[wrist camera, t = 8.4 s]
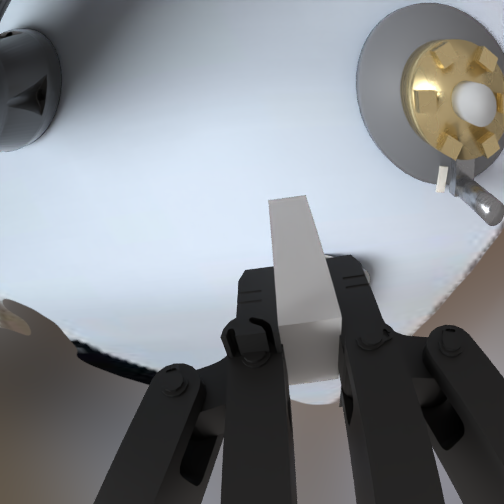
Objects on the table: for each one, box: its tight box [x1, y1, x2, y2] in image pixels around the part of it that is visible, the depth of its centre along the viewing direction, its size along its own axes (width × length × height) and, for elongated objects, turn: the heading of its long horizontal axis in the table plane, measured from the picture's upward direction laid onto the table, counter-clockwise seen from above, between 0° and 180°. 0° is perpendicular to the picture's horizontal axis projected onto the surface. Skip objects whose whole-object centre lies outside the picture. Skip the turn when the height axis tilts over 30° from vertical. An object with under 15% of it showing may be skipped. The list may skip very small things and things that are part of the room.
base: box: [356, 3, 504, 193], centre depth 23 cm, size 20×20×7 cm
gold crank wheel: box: [400, 39, 504, 226], centre depth 22 cm, size 16×12×9 cm
